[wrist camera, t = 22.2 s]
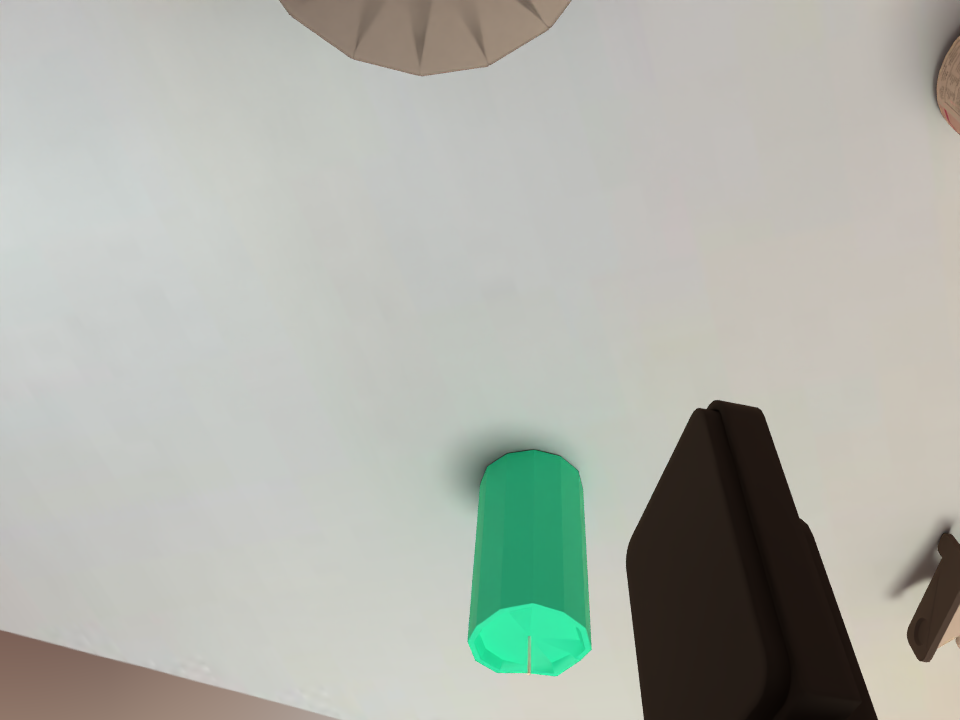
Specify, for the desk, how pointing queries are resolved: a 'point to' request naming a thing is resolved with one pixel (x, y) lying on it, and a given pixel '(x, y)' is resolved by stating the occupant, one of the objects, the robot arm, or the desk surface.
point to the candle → (530, 567)
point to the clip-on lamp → (938, 605)
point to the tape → (427, 30)
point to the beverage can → (950, 87)
